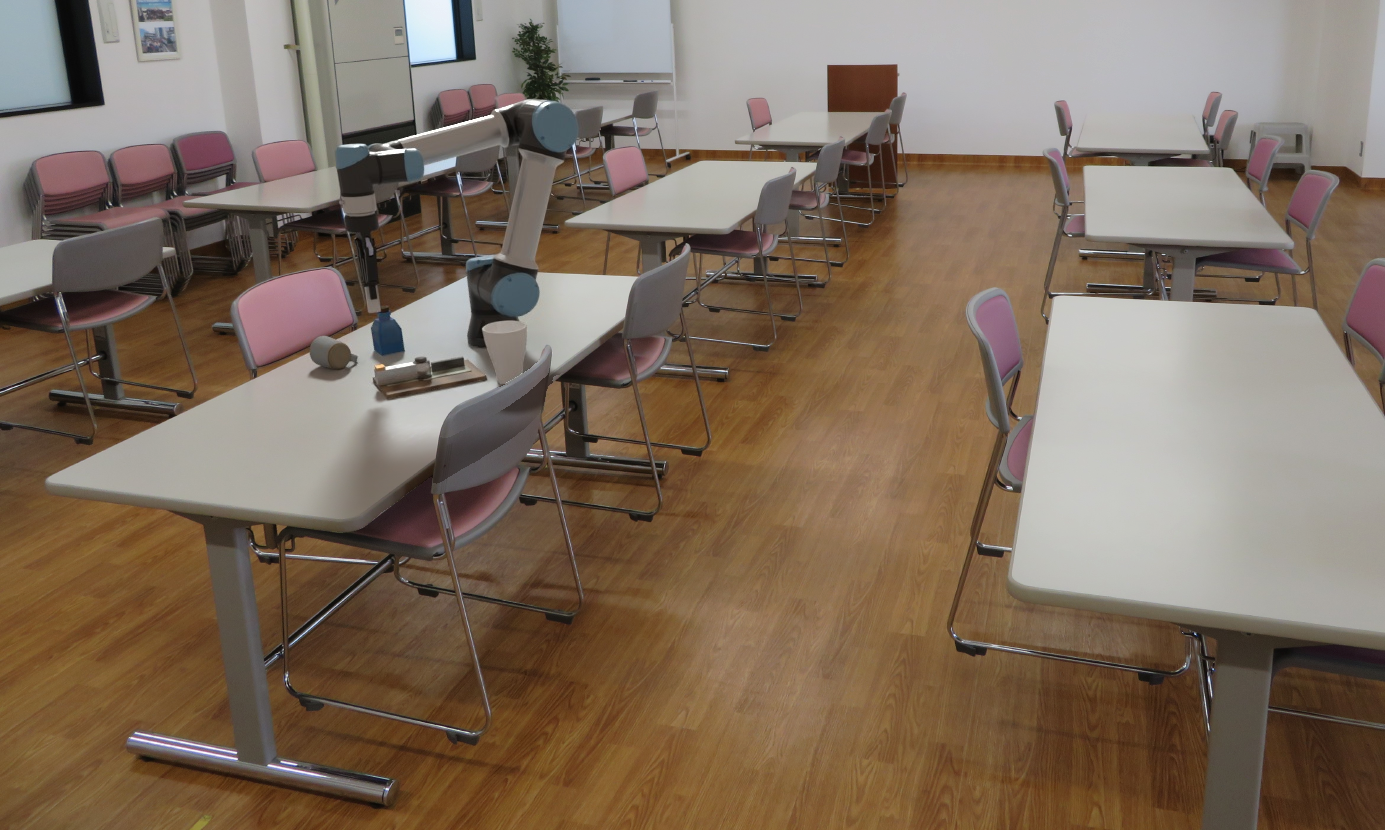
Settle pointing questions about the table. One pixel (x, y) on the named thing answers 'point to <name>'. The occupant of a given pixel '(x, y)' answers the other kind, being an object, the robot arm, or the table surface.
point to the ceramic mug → (331, 353)
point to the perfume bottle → (386, 333)
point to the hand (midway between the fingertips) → (374, 311)
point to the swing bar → (401, 372)
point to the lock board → (436, 377)
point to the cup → (506, 348)
